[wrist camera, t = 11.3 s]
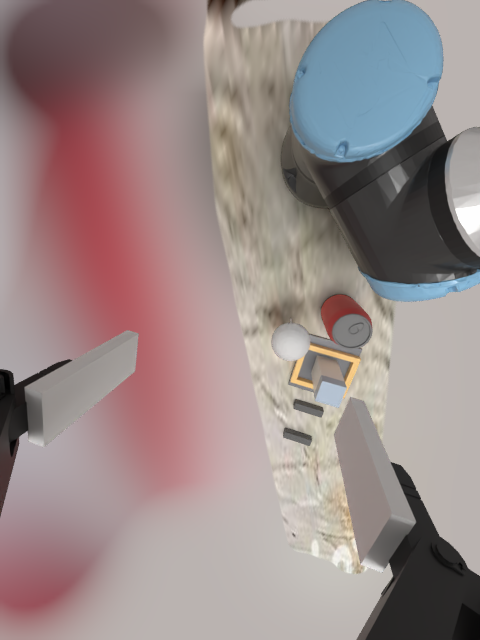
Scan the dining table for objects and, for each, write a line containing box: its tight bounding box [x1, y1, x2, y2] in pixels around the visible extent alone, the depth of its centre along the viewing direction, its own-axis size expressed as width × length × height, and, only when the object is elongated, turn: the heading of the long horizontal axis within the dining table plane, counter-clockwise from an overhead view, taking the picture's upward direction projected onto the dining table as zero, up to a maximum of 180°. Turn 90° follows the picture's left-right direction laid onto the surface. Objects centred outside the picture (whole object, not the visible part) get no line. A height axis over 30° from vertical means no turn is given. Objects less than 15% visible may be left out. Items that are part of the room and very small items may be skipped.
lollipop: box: [272, 318, 310, 361], centre depth 44 cm, size 6×6×15 cm
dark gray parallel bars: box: [283, 399, 324, 446], centre depth 57 cm, size 10×6×2 cm, turn 167°
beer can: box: [321, 295, 372, 350], centre depth 44 cm, size 7×7×12 cm
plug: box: [311, 355, 347, 408], centre depth 48 cm, size 4×4×10 cm
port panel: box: [289, 334, 362, 398], centre depth 52 cm, size 12×11×2 cm
